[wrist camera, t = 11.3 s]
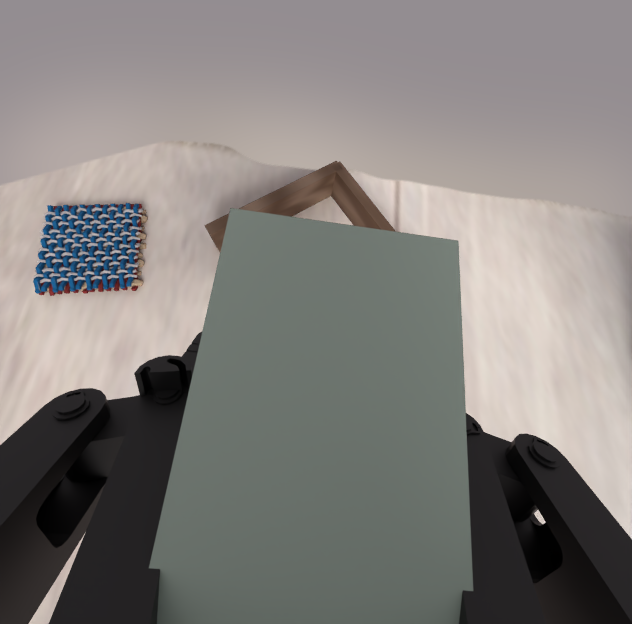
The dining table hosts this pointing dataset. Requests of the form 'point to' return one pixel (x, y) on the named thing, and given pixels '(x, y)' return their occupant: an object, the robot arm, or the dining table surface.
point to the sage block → (322, 434)
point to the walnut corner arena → (313, 200)
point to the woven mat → (90, 248)
